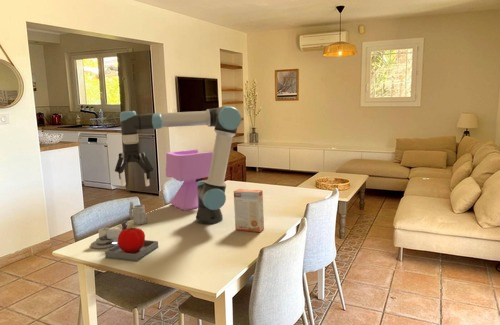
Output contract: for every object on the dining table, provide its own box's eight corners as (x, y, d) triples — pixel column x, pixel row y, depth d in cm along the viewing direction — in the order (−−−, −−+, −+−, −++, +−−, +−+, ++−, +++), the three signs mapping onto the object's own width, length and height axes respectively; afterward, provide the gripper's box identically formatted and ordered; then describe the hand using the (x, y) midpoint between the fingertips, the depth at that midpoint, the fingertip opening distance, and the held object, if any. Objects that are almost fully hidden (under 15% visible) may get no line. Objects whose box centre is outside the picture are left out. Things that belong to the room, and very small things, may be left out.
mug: (139, 225, 208) (137, 204, 207) (125, 223, 215) (123, 202, 213) (149, 222, 215) (148, 201, 213) (135, 219, 221) (133, 199, 219)
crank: (97, 239, 180) (95, 222, 179) (102, 236, 185) (101, 219, 183) (125, 240, 177) (123, 223, 176) (130, 237, 182) (129, 220, 181)
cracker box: (264, 229, 195) (263, 189, 191) (259, 233, 189) (258, 192, 186) (240, 226, 201) (238, 188, 197) (235, 230, 195) (233, 190, 192)
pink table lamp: (215, 205, 246) (212, 151, 240) (182, 211, 233) (178, 155, 227) (199, 198, 265) (196, 149, 259) (168, 204, 252) (164, 152, 247)
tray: (158, 247, 175) (157, 241, 175) (137, 261, 160) (136, 254, 159) (128, 244, 180) (128, 238, 180) (105, 257, 165) (104, 251, 165)
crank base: (125, 240, 186) (124, 235, 186) (107, 250, 174) (106, 244, 174) (103, 238, 190) (103, 233, 190) (84, 247, 178) (84, 242, 178)
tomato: (120, 257, 163) (117, 233, 161) (117, 249, 173) (115, 225, 171) (148, 252, 167) (146, 228, 166) (144, 244, 178) (142, 221, 176)
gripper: (157, 141, 183) (161, 184, 187) (113, 142, 190) (118, 183, 194) (149, 143, 176) (154, 187, 180) (104, 144, 183) (109, 187, 187)
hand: (135, 185), depth 187 cm, fingers open, 13 cm apart
